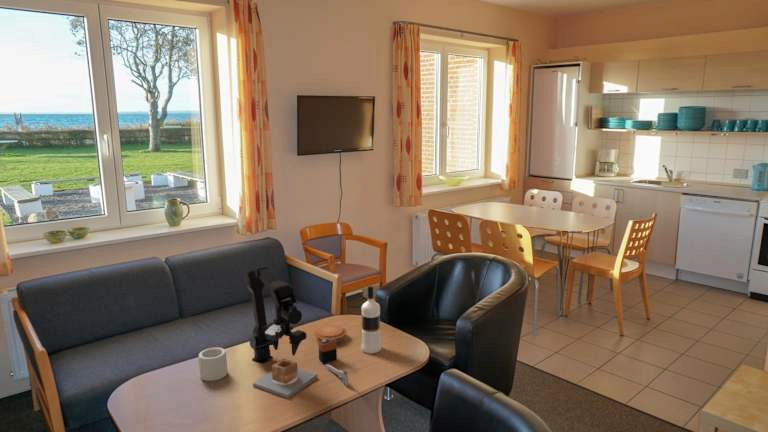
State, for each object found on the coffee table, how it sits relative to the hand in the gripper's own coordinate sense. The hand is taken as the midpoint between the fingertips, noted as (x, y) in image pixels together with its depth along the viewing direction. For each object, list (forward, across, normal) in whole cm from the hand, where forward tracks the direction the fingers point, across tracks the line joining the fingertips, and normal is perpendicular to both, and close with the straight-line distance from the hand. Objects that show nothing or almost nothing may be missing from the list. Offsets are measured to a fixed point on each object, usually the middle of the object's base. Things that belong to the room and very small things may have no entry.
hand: (284, 352), depth 209 cm
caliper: (+12, +16, +12) cm, 24 cm away
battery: (+12, +5, +21) cm, 25 cm away
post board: (+12, +1, -2) cm, 12 cm away
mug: (+12, -30, -12) cm, 34 cm away
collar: (+10, +1, -2) cm, 10 cm away
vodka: (+12, +16, +39) cm, 44 cm away
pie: (+12, -7, +39) cm, 42 cm away
